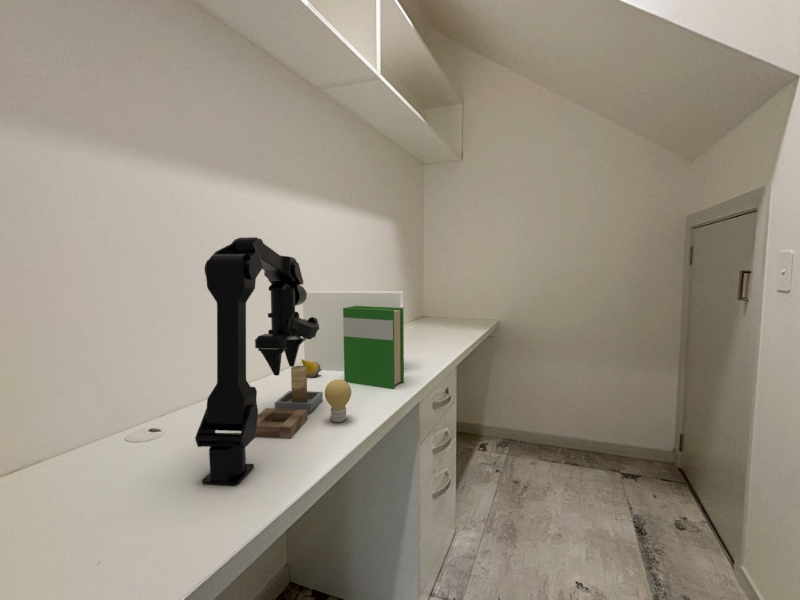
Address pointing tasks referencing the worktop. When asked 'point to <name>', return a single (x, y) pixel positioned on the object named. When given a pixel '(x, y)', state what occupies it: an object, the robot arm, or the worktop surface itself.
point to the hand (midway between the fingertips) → (284, 370)
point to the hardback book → (373, 346)
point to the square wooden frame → (280, 422)
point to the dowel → (299, 384)
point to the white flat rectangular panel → (338, 321)
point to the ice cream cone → (311, 368)
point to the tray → (310, 406)
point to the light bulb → (338, 398)
